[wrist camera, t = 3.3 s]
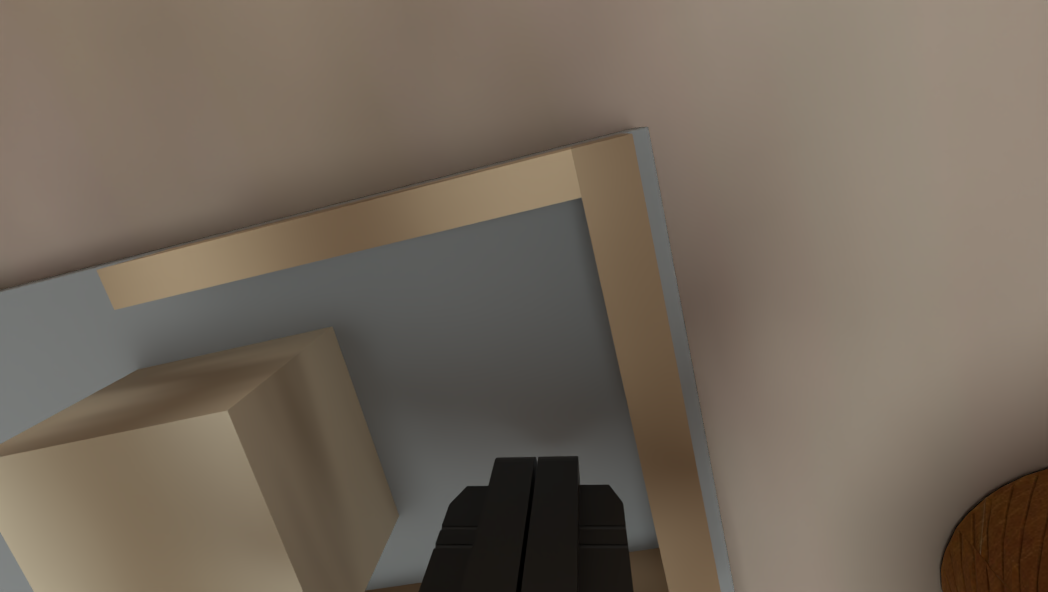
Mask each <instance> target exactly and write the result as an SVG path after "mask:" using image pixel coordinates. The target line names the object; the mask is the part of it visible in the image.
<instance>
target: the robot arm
mask: <svg viewBox="0 0 1048 592" xmlns="http://www.w3.org/2000/svg"><path fill="white" fill-rule="evenodd" d="M419 592H634V591H633V582H632V573H631V565H630V556H629V549H628V539H627V531H626V522H625V514H624V505H623V502H622V501H621V499H620V498H619V497H618V496H617V494H616V493H615V492H614V490H613V489H612V488H611V486H610V485H580V472H579V458H578V456H546V457H538V463H537V459H536V457H497V458H496V459H495V462H494V465H493V469H492V473H491V477H490V481H489V485H488V486H467V487H466V488H465V489H464V490H463V491H462V492H461V493H460V494H459V495H458V496H457V497H456V498H455V499H454V500H453V501H452V502H451V503H450V504H449V506H448V509H447V512H446V515H445V518H444V521H443V523H442V530H440V532H439V535H438V538H437V540H436V543H435V548H434V549H433V552H432V555H431V558H430V560H429V563H428V566H427V569H426V572H425V575H424V577H423V580H422V583H421V586H420V589H419Z"/></svg>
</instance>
